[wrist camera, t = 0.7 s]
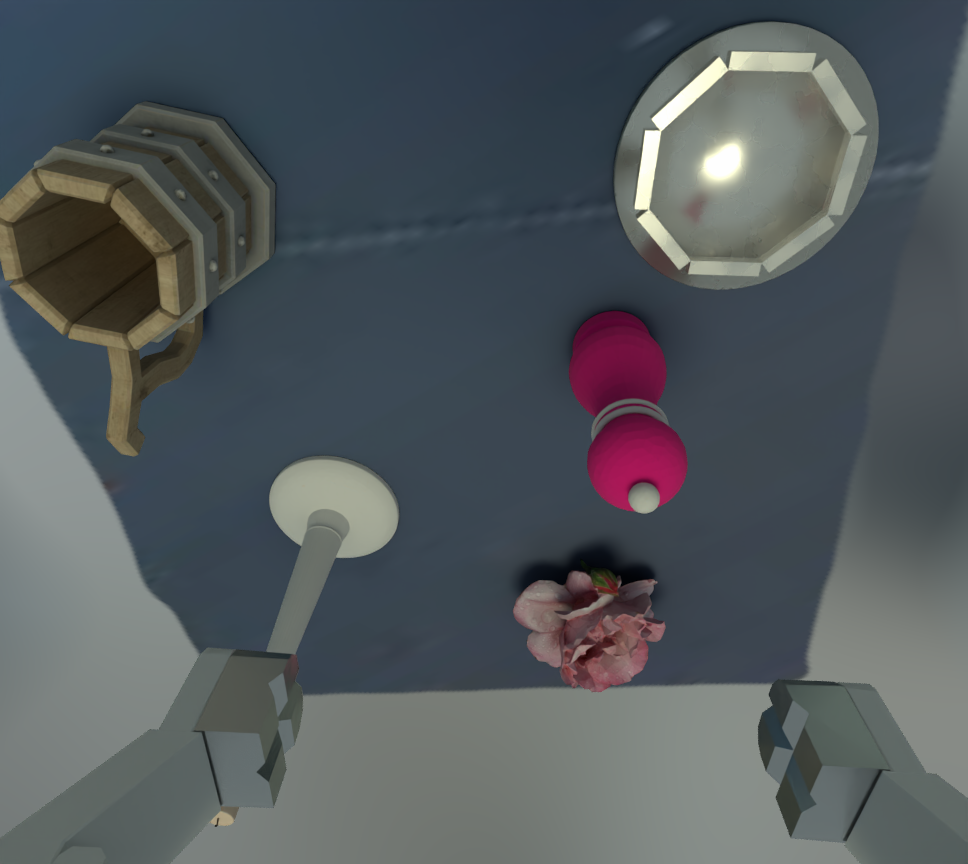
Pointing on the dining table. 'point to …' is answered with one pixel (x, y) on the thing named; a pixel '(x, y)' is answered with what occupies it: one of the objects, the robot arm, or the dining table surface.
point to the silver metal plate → (745, 155)
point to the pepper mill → (626, 413)
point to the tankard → (138, 242)
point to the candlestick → (323, 537)
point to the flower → (590, 626)
